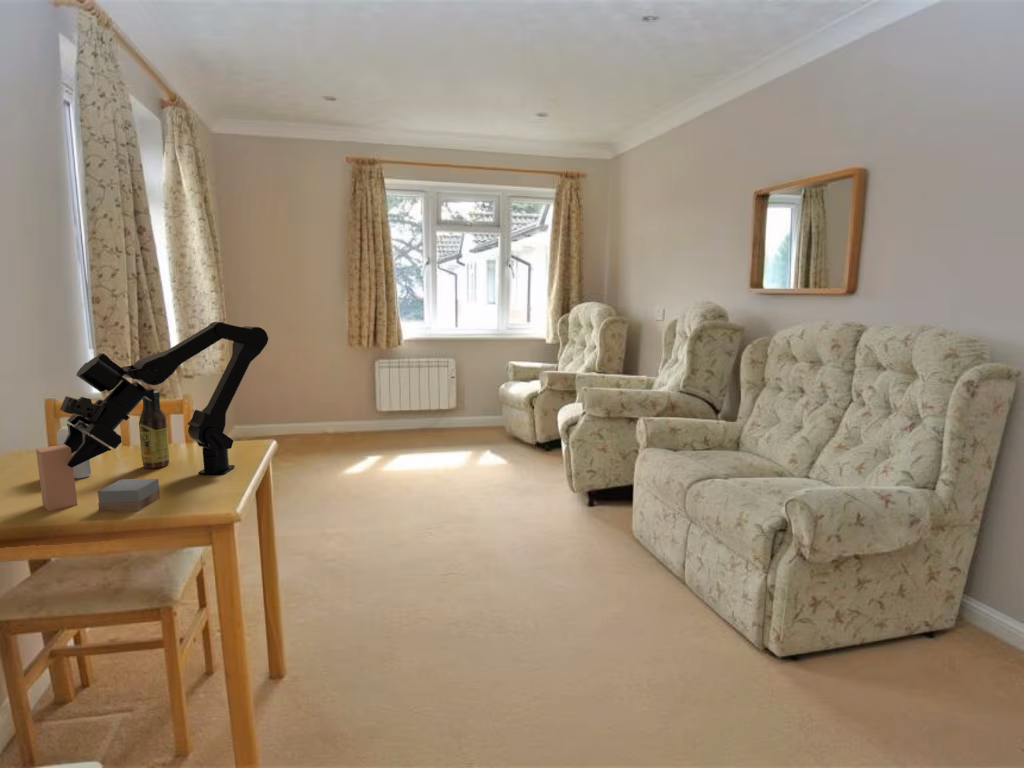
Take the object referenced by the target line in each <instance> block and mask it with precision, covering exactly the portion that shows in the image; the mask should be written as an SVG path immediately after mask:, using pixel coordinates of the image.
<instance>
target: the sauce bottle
mask: <svg viewBox="0 0 1024 768" xmlns="http://www.w3.org/2000/svg"><path fill="white" fill-rule="evenodd" d="M160 396H161V393H160V390H154V397H155V401H150V400H148V399H146V398H145V397H144V398H143V399H142V405H143V406H142V410H141V414H140V417H139V421H138V426H139V427H138V428H139V440H140V451H141V452H140V453H141V454H140V455H141V462H142V465H143V466H142V467H144V468H145V469H146V468H147V469H157V468H159V469H160V468H163V467H166V466H168V465H169V463H170V446H169V444H170V443H169V434H168V425H167V424H168V423H167V417H166V414H165V413H164V411H163V410H162V408H161V404H160V403H161V402H160V398H161V397H160Z"/></svg>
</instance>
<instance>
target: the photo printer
mask: <svg viewBox="0 0 1024 768" xmlns="http://www.w3.org/2000/svg"><path fill="white" fill-rule="evenodd" d="M68 434H69V432H68V427H67V425H65V426H63V427H60V428H59V429H58V431H57V433H56V440H57V441H56V443H57V445H63V444H64V442H65V440H66V438H67V436H68ZM75 452H76V451H75ZM75 452H74V453H72V456H73V455H74V454H75ZM90 460H91V459H89V460H87V461H85V462H83V463H81V464H79V465H77V466H75V467H73V471H74V479H84V478H89V476H91V475H92V470H91V469H92V468H91V461H90Z"/></svg>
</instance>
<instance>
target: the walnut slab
mask: <svg viewBox="0 0 1024 768" xmlns="http://www.w3.org/2000/svg"><path fill="white" fill-rule="evenodd" d="M160 495H161V494H160V489H159V490H158V491H156V492H155V493H153V494H151V495H150V496H148V497H146V498H145V499H143V500H142V501H140V502H120V503H99V502H98V503H97V504H98V513H102V512H103V513H105V512H106V513H107V512H112V513H115V512H119V513H120V512H122V513H123V512H125V513H126V512H139V511H142V510H143V509H145V508H146V507H148V506H149V505H151V504H153V503H154V502H157V501H158V500H159V499H161V496H160Z"/></svg>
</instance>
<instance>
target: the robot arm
mask: <svg viewBox="0 0 1024 768" xmlns="http://www.w3.org/2000/svg"><path fill="white" fill-rule="evenodd" d="M222 339H223V340H227V341H231V342H232V349H231V350H232V352H231V353H232V354H231V357H230V359H229V361H228V363H227V365H226V366H225V369H224V371H223V374H222V375H221V377H220V379H219V381H218V384H217V386H216V388H215V389H214V392H213V393H212V395H211V397H210V400H209V401H208V403H207V405H206V406H205V407H204V408H203V409H202V410H199V409H195V410H194V412H193V414H192V417H191V419H190V420H189V421H188V422H187V425H188V426H189V427H188V429H187V433H188V435H189V438H191V440H193V441H195V442H196V443H197V445H198V446H199V447H201V448H202V460H203V461H202V462H203V468H202V469H201V470H199V471H198V473H197V475H225V474H227V473H228V472H229V471H231V470H232V469H234V468H235V464H230V463H229V462H230V461H229V460H230V459H229V450H230V449H232V446H233V444H234V440H233V438H231V437H229V436H228V435H226V434H225V433H224V431H225V427H226V422H227V421H226V420H227V419H226V418H227V417H226V416H227V411H228V410H229V407H230V404H231V403H232V402H233V399H234V397H235V396H236V393H237V391H238V388H239V387H240V384H241V382H242V380H243V379H244V377H245V374H246V372H247V370H248V368H249V366H250V364H251V363H252V361H254V360H255V359H256V358H257V357H258V356H259V355H260V354H261V353H262V351H263V350H264V349H265V347H266V346H267V345H268V341H269V336H268V333H267V332H266V330H265V329H263V328H262V327H259V326H248V325H246V326H238V325H232V324H228V323H226V322H224V321H213V322H211V323H209V325H207V326H205V327H203V328H202V329H201V330H199V331H197V332H196V333H194V334H192V335H190V336H189V337H187V338H186V339H183V340H182V341H180V342H179V343H176V344H175V345H173V346H172V347H171V348H168V349H166V350H164V351H161V352H157V353H155V354H151V355H148V356H146V357H144V358H140V359H139V360H137V361H136V362H135V363H134V364H131V365H127V366H122V367H121V366H120V365H118V364H117V363H116V362H114V361H113V360H111V358H110V357H109V356H108V355H106V354H105V353H98V354H97V356H95V357H93V358H92V359H90V360H89V361H88V362H85V363H84V364H83V365H82V366H80V368H79V370H78V371H77V372H76V377H78V378H79V379H80V380H82V381H83V382H84V383H87V385H89V386H91V387H93V388H94V389H95V390H96V391H98V392H101V393H102V392H104V391H107V392H109V394H108V395H107V396H106V397H105V398H104V399H97V400H96V401H95V402H92V399H91V398H88V397H84V396H80V397H79V398H74V397H71V396H68V395H67V396H66V395H65V397H64V399H63V401H62V403H61V405H60V408H59V411H62V412H64V413H66V414H71V416H70V417H69V418H68V419H67V420H66V421H67V422H68V423H66V426H67V427H68V432H69V434H68V436H67V438H66V440H65V442H64V444H65V445H67V446H68V447H70V448H71V453H74V452H75V451H76V452H75V454H74V455H73V456H72V458H71V459H70V461H69V462H68V464H67V465H68V466H69V467H71V468H73V467H75V466H77V465H79V464H81V463H83V462H85V461H87V460H91V459H94V458H95V457H97V456H100V455H102V454H105V453H106V452H110V451H112V449H111V448H113V449H114V450H116V449H117V448H118V447H119V446H120V444H122V436H121V434H118V433H117V432H116V430H115V429H117V428H118V426H119V425H120V424H121V423H122V422H123V421H128V420H129V419H130V416H129V415H130V413H132V411H133V410H134V409H135V408H136V407H137V406H138V405H139V404H140V402H141V401H143V398H144V397H145V398H146V399H148V400H150V401H155V397H154V391H155V389H154V388H146V387H145V386H144V385H142V384H146V385H150V386H159V385H160V384H163V383H164V382H165V381H166V380H167V379H168V378H169V377H171V376H172V375H173V374H174V373H175V372H176V370H177V369H178V368H179V367H180V366H181V365H182V364H183V363H185V362H187V361H188V360H189V359H192V358H193V357H195V356H196V355H197V354H198V355H199V354H200V353H201V352H203V351H204V350H206V349H208V348H209V347H211V346H212V345H214V344H216V343H217V342H219V341H220V340H222ZM126 378H129V379H133V380H136V381H134V382H130V380H128V379H126ZM141 383H142V384H141ZM110 391H111V392H110Z"/></svg>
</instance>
